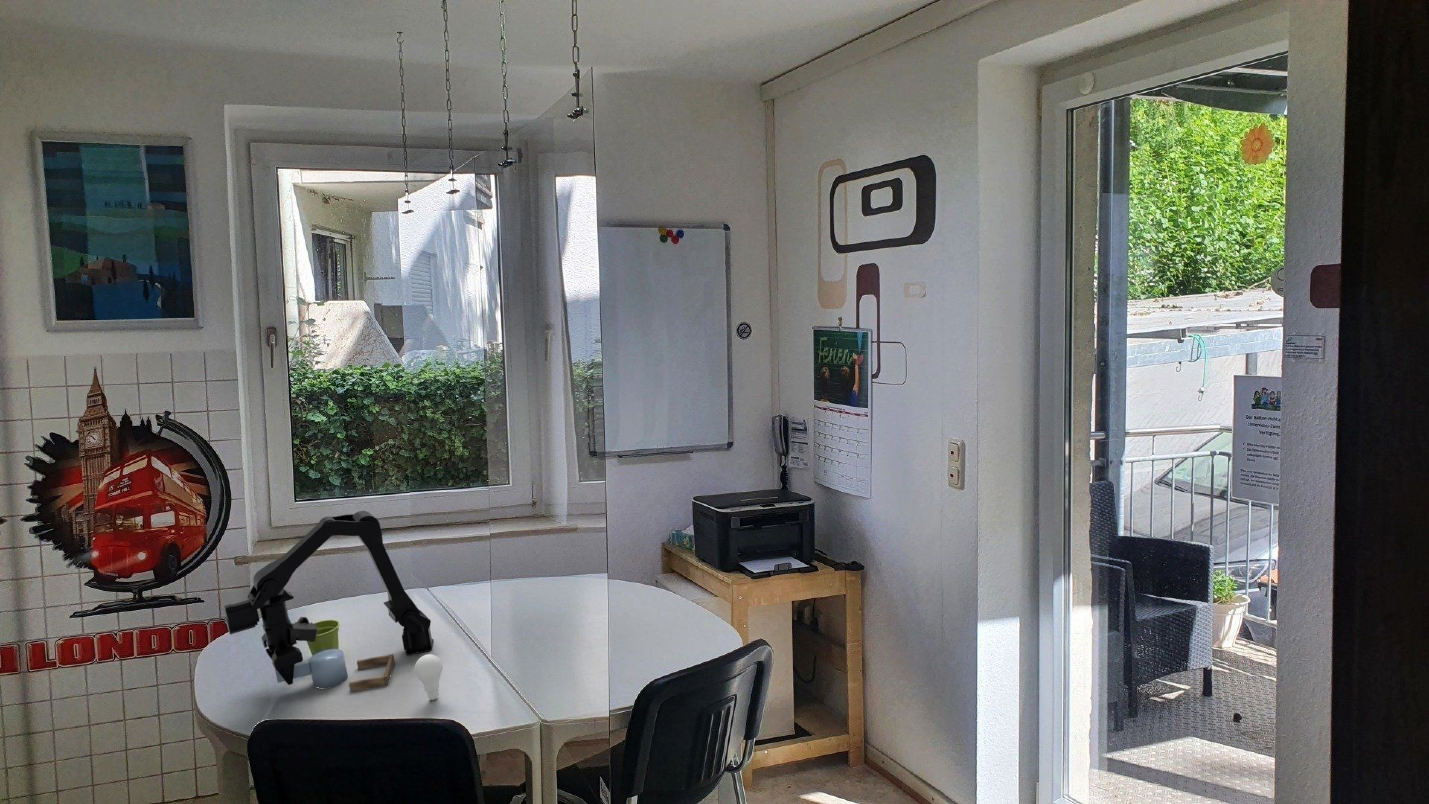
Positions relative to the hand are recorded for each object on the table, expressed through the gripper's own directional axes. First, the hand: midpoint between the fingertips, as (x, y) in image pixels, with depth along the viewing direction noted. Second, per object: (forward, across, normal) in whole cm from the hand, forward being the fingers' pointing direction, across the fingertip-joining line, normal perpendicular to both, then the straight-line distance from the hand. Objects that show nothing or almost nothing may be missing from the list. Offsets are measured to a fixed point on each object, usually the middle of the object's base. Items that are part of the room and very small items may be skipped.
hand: (288, 680), depth 234 cm
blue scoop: (+3, -1, -5) cm, 6 cm away
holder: (+3, -7, -18) cm, 20 cm away
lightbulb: (+3, -30, -26) cm, 40 cm away
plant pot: (+3, +13, -11) cm, 17 cm away
